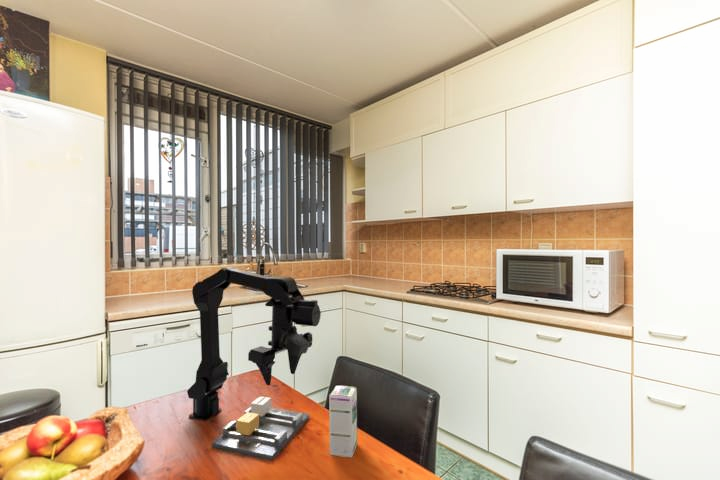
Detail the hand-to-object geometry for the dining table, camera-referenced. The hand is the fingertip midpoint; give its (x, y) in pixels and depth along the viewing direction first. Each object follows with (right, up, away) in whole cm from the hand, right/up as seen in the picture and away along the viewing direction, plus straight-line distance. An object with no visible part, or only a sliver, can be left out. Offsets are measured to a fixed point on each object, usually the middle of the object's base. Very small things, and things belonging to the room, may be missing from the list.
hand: (280, 379), depth 91 cm
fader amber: (-7, -12, -6) cm, 15 cm away
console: (-4, -13, -2) cm, 14 cm away
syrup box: (+18, -13, -10) cm, 24 cm away
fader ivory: (-6, -12, +3) cm, 14 cm away
